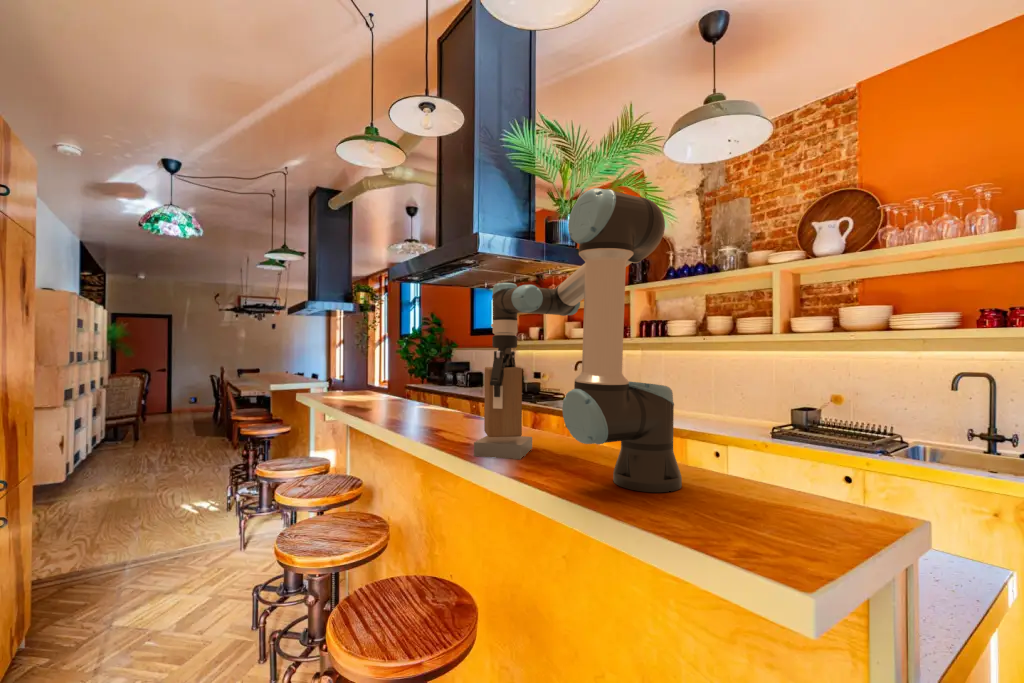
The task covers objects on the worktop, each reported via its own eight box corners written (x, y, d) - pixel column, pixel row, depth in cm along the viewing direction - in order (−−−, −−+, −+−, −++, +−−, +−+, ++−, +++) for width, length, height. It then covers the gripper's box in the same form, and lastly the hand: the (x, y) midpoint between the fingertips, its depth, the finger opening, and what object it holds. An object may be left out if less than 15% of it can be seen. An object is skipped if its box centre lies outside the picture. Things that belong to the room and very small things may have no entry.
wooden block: (484, 431, 144) (484, 367, 145) (516, 431, 146) (516, 367, 146) (487, 437, 134) (488, 367, 135) (522, 436, 136) (522, 367, 136)
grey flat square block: (520, 459, 131) (520, 445, 131) (473, 456, 135) (474, 442, 135) (532, 449, 145) (532, 436, 145) (489, 447, 148) (489, 434, 149)
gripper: (504, 336, 154) (504, 401, 153) (479, 333, 130) (478, 410, 129) (526, 336, 152) (526, 402, 151) (505, 332, 128) (504, 411, 127)
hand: (504, 406), depth 140 cm, fingers closed on wooden block, 12 cm apart
